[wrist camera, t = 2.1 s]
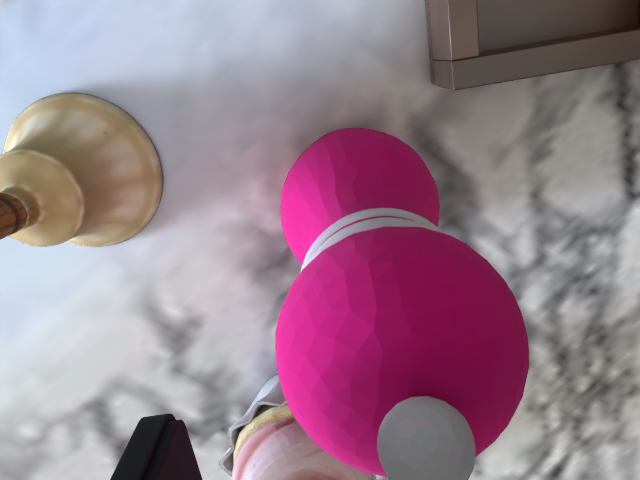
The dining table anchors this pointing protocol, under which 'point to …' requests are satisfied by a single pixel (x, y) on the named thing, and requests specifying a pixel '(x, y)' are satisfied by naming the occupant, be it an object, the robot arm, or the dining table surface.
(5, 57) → the dining table surface
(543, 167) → the dining table surface
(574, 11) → the holder
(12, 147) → the hand bell
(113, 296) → the dining table surface
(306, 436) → the cupcake
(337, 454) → the pepper mill
